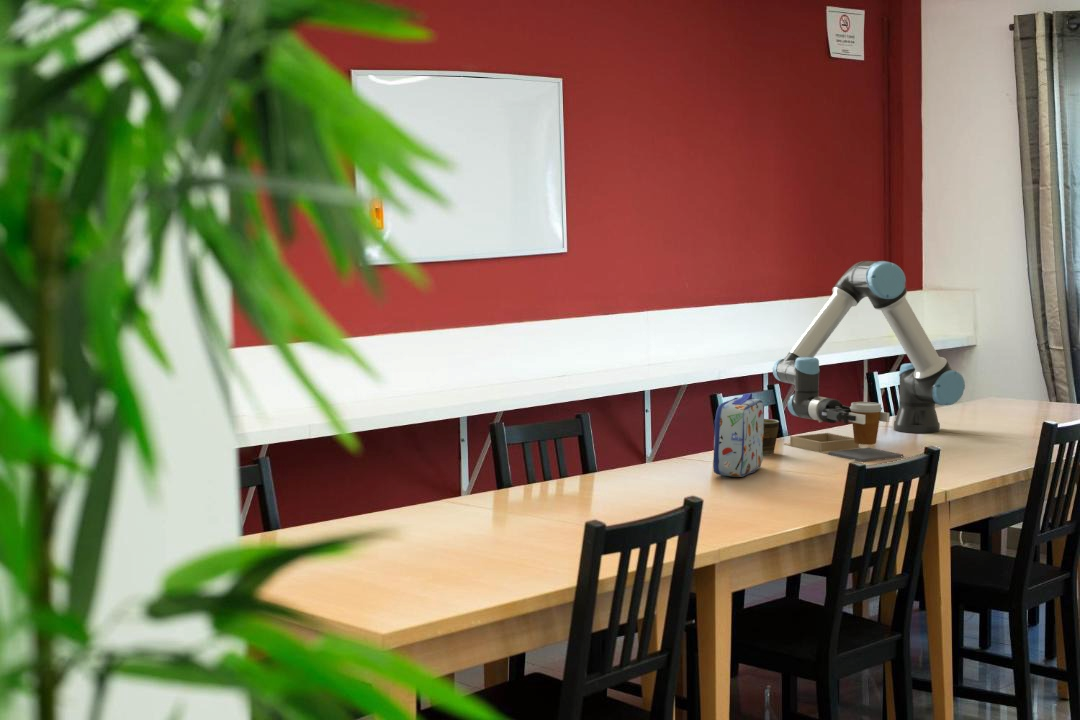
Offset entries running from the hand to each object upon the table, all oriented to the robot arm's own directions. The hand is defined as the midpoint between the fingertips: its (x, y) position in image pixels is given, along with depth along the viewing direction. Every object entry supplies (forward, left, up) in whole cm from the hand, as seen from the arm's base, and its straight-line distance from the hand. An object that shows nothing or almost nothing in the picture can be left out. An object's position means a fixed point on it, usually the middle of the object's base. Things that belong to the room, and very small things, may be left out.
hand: (876, 418), depth 385 cm
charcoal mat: (0, -5, -12) cm, 13 cm away
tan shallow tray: (0, -24, -12) cm, 26 cm away
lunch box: (+49, -2, -12) cm, 50 cm away
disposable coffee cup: (0, -5, -8) cm, 9 cm away
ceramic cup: (+25, -24, -12) cm, 36 cm away
